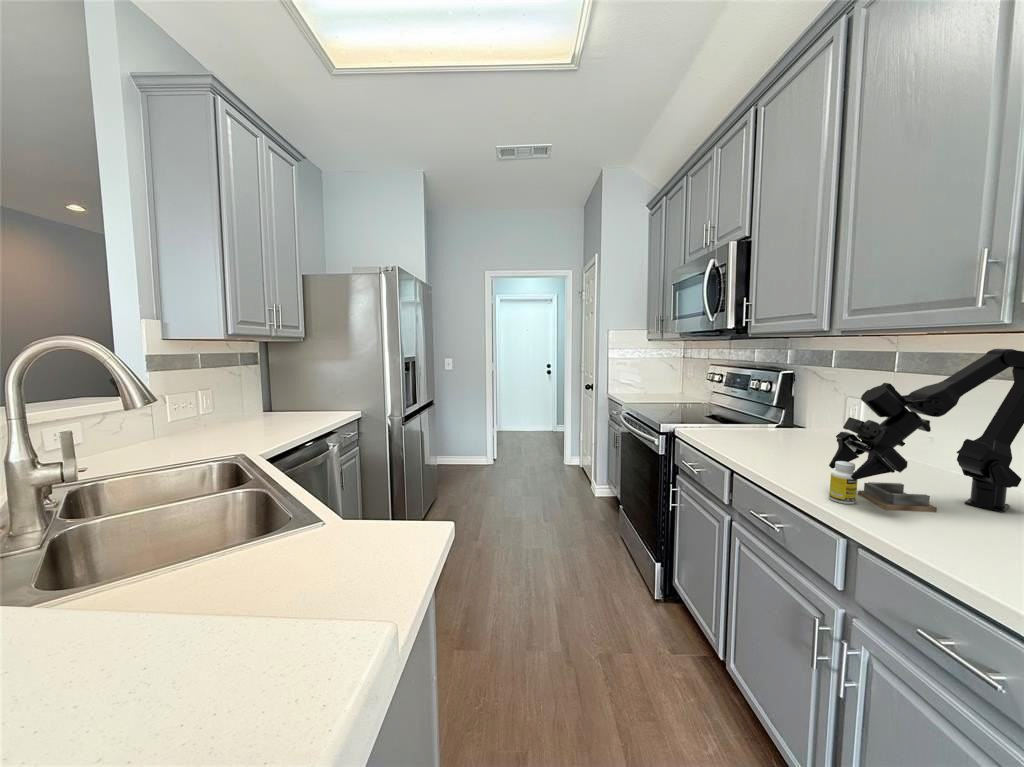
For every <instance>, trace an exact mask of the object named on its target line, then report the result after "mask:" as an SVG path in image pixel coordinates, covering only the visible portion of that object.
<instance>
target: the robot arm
mask: <svg viewBox="0 0 1024 767" xmlns="http://www.w3.org/2000/svg"><path fill="white" fill-rule="evenodd" d="M1009 368H1012V369H1011V370H1012V378H1013V384H1012V386H1011V387H1010V389H1009V390H1008V392H1007V394H1006V396H1005V397H1004V399H1003V400H1002V402H1001V404H1000V405H999V407H998V409H997V410H996V412H995V413H994V415H993V417H992V419H991V420H990V422H989V423H988V425H987V427H986V428H985V430H984V431H983V433H982V435H980V436H979V437H977V438H976V439H974V440H973V439H970V438H966V439H965V440H964V441H963V444H962V446H961V447H960V449H959V450H957V451H956V454H958V455H957V458H956V461H957V464H958V466H959V467H960V468H961V471H962V474H963V475H964V476H965V477H969V478H971V479H972V480H971V488H970V489H971V490H970V498H968V499H967V500H965V501H964V504H965V505H967V506H973V507H976V508H982V509H987V510H991V511H995V512H1001V513H1005V512H1006V511H1007V510H1008V509H1009V508H1010V507H1011V504H1009V503H1006V500H1007V489H1008V488H1009V489H1011V488H1018V487H1019V485H1020V483H1021V481H1022V478H1021V477H1020V475H1018V474H1017V473H1016V472H1015V471H1014V470H1013V469H1012V468H1011V467H1010V466H1011V463H1012V461H1013V454H1012V447H1011V446H1012V444H1013V442H1014V441H1015V439H1016V437H1017V436H1018V434H1019V432H1020V431H1021V430H1022V428H1023V426H1024V351H1023V350H1016V349H1013V348H992V349H990V350H988V351H987V352H986V353H985V354H984V355H983V356H982V357H979V358H978V359H977V360H974V361H973V362H971V363H970V364H967V365H966V366H965V367H964V368H962V369H960V370H958V371H957V372H955V373H953V374H952V375H950V376H948V377H947V378H945V379H943V380H941V381H939V382H937V383H933V384H930V385H929V384H927V385H925V386H923V387H921V388H918V389H916V390H913V391H911V392H910V393H909V394H905V395H901V394H900V392H899V391H897V390H896V388H895V386H893V385H892V383H889V382H883V383H882V384H880V385H877V386H874V387H872V388H870V389H867V390H865V392H863V393H862V395H861V396H860V400H861V401H862V403H864V404H865V405H866V406H867V407H868V408H869V409H870V410H871V411H872V412H873V413H874V414H875V415H876V416H877V417H879V418H886V419H884V420H883V421H882V422H876V421H874V420H870V419H868V420H865V421H863V420H860V419H858V418H857V419H856V418H854V417H850V416H849V417H848V418H847V420H846V421H845V423H844V425H843V426H842V429H844V430H846V431H840V432H839V433H838V434H836V435H835V438H836V442H837V445H838V447H837V449H836V452H835V454H834V455H833V457H832V459H831V460H830V462H829V464H828V467H830V469H832V470H834V469H836V468H835V462H836V461H845V462H850V463H851V461H854V460H857V459H859V458H860V456H861V455H863V454H864V453H867V459H866V460H865V461H864V462H863V463H862V464H861V465H860V466H859V467H858V468H857V469H855V470H854V473H853V474H852V476H851V478H852V479H854V480H857V479H858V480H861V479H864V478H869V477H874V476H879V475H883V474H889V473H892V474H894V473H896V472H898V473H899V474H900V473H902V472H903V471H905V470H906V469H907V468H908V461H907V460H906V458H904V457H903V456H902V455H901V454H900V453H899V452H898V451H897V450H896V449H895V448H896V447H897V446H899V447H904V446H905V445H906V442H904V441H905V440H906V439H907V438H909V437H910V436H911V435H913V433H915V431H917V430H919V431H923V432H927V433H930V432H931V430H932V429H931V421H930V420H928V419H925V418H922V417H921V416H920V415H923V416H928V417H934V418H935V417H936V418H939V417H942V416H944V415H946V414H947V413H949V412H950V411H952V410H953V408H954V407H956V406H957V405H958V402H959V401H960V399H961V397H963V396H964V395H965V394H967V393H968V392H970V391H972V390H974V389H976V387H979V386H981V385H982V384H984V383H986V382H987V381H989V380H990V379H992V378H994V377H995V376H997V375H998V374H1000V373H1002V372H1004V371H1005V370H1007V369H1009ZM919 414H920V415H919ZM847 430H848V431H849V432H848V431H847ZM851 432H853V433H851ZM854 433H855V434H856V435H855V434H854Z"/></svg>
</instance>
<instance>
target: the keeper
mask: <svg viewBox="0 0 1024 767" xmlns="http://www.w3.org/2000/svg"><path fill="white" fill-rule="evenodd" d="M863 484H864V485H863V490H859V489H857V495H859V496H860V497H862V498H864V499H866V500H868V501H870V502H871V503H873V504H875V505H876V506H878V507H880V508H883V509H884V510H885V511H902V512H903V511H905V512H906V511H908V512H933V513H934V512H935V513H936V512H937V511H938V510H937V508H938V507H936V506H935V505H932V504H930V499H931V498H930V495H927V494H923V493H922V494H919V493H907V492H904V491H905V490H904V488H905V484H903V483H901V482H875V481H872V482H871V481H870V482H869V481H868V482H864V483H863Z"/></svg>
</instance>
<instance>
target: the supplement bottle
mask: <svg viewBox="0 0 1024 767" xmlns="http://www.w3.org/2000/svg"><path fill="white" fill-rule="evenodd" d="M855 471H856V464H855V463H853V462H851V461H850V462H845V461H836V462H835V468H833V469H832V470H831V473H830V481H829V482H830V484H829V494H828V495H829V496H828V497H829V500H831V501H833V502H835V503H839V504H843V505H853V504H856V501H857V493H858V489H857V488H858V480H859V479H857V480H854V479H852V478H851V476H852V474H853V473H854V472H855Z"/></svg>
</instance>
